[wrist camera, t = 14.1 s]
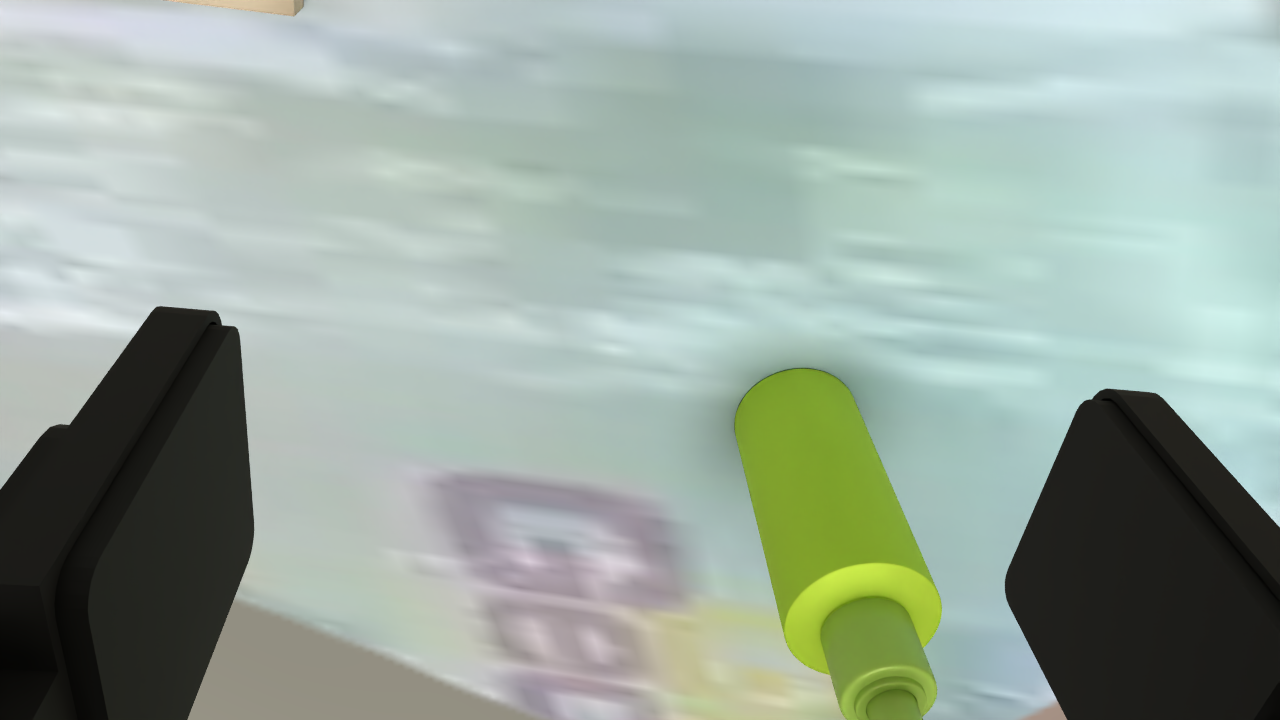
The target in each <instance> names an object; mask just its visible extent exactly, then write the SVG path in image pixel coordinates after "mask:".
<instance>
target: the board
mask: <svg viewBox="0 0 1280 720" xmlns="http://www.w3.org/2000/svg"><path fill="white" fill-rule="evenodd" d="M165 1H173V2H182V3H190V4H198V5H206V6H214V7H222V8H231V9H239V10H247V11H255V12H263V13H271V14H280V15H288V16H295V15H296V14H297V13H298V12H299V11H300V10H301V9H302V8H303V0H165Z"/></svg>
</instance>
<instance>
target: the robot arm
mask: <svg viewBox="0 0 1280 720" xmlns="http://www.w3.org/2000/svg"><path fill="white" fill-rule="evenodd" d="M253 538H254V516H253V503H252V490H251V477H250V464H249V451H248V438H247V424H246V411H245V398H244V385H243V372H242V359H241V345H240V337H239V332H238V329H237V328H236V327H234V326H223V325H222V323H221V319H220V317H219V314H218V313H217V312H216V311H209V310H198V309H186V308H175V307H163V306H160V307H156V308H155V309H154V310H153V311H152V312H151V313H150V315H149V316H148V318H147V319H146V320H145V322H144V323H143V325H142V326H141V327H140V329H139V330H138V331H137V333H136V334H135V336H134V337H133V338H132V340H131V341H130V342H129V344H128V345H127V347H126V348H125V349H124V351H123V352H122V353H121V355H120V356H119V358H118V359H117V360H116V362H115V363H114V365H113V366H112V367H111V369H110V370H109V371H108V373H107V374H106V376H105V377H104V378H103V380H102V381H101V382H100V384H99V385H98V387H97V388H96V389H95V391H94V392H93V394H92V395H91V396H90V398H89V399H88V400H87V402H86V403H85V405H84V406H83V407H82V409H81V410H80V411H79V413H78V414H77V416H76V417H75V418H74V420H73V421H72V423H71V424H70V425H62V424H59V425H56V426H52V427H50V428H49V429H48V430H47V431H46V432H45V433H44V434H43V435H42V436H41V437H40V438H39V439H38V440H37V442H36V443H35V444H34V446H33V447H32V448H31V450H30V451H29V452H28V454H27V455H26V456H25V458H24V459H23V460H22V462H21V463H20V464H19V466H18V467H17V468H16V470H15V471H14V472H13V474H12V475H11V476H10V478H9V479H8V480H7V482H6V483H5V484H4V486H3V487H2V488H1V490H0V720H187V719H188V716H189V713H190V711H191V708H192V706H193V703H194V701H195V698H196V696H197V693H198V690H199V688H200V685H201V682H202V680H203V677H204V675H205V672H206V669H207V667H208V664H209V662H210V659H211V657H212V654H213V652H214V649H215V646H216V644H217V641H218V638H219V636H220V634H221V631H222V628H223V626H224V623H225V621H226V618H227V615H228V613H229V610H230V608H231V605H232V603H233V600H234V597H235V595H236V592H237V590H238V587H239V584H240V582H241V579H242V577H243V574H244V572H245V569H246V566H247V564H248V561H249V558H250V555H251V550H252V545H253ZM1005 593H1006V599H1007V601H1008V604H1009V606H1010V608H1011V610H1012V612H1013V614H1014V616H1015V618H1016V620H1017V622H1018V624H1019V626H1020V628H1021V630H1022V632H1023V634H1024V636H1025V638H1026V640H1027V642H1028V644H1029V646H1030V648H1031V650H1032V652H1033V653H1034V655H1035V657H1036V659H1037V661H1038V663H1039V665H1040V667H1041V669H1042V671H1043V673H1044V675H1045V677H1046V679H1047V681H1048V683H1049V685H1050V687H1051V689H1052V691H1053V693H1054V695H1055V697H1056V699H1057V701H1058V702H1059V704H1060V706H1061V708H1062V710H1063V712H1064V714H1065V716H1066V718H1067V720H1280V527H1279V526H1278V525H1277V524H1276V523H1275V522H1274V521H1273V520H1272V519H1271V518H1270V516H1269V515H1268V514H1267V513H1266V512H1265V511H1264V510H1263V509H1262V508H1261V506H1260V505H1259V504H1258V503H1257V502H1256V501H1255V500H1254V499H1253V498H1252V496H1251V495H1250V494H1249V493H1248V492H1247V491H1246V490H1245V489H1244V488H1243V487H1242V485H1241V484H1240V483H1239V482H1238V481H1237V480H1236V479H1235V478H1234V477H1233V475H1232V474H1231V473H1230V472H1229V471H1228V470H1227V469H1226V468H1225V467H1224V466H1223V464H1222V463H1221V462H1220V461H1219V460H1218V459H1217V458H1216V457H1215V456H1214V454H1213V453H1212V452H1211V451H1210V450H1209V449H1208V448H1207V447H1206V446H1205V444H1204V443H1203V442H1202V441H1201V440H1200V439H1199V438H1198V437H1197V436H1196V435H1195V433H1194V432H1193V431H1192V430H1191V429H1190V428H1189V427H1188V426H1187V425H1186V423H1185V422H1184V421H1183V420H1182V419H1181V418H1180V417H1179V416H1178V415H1177V413H1176V412H1175V411H1174V410H1173V409H1172V408H1171V407H1170V406H1169V405H1168V404H1167V402H1166V401H1165V400H1164V399H1163V398H1162V397H1160V396H1159V395H1158V394H1156V393H1150V392H1140V391H1129V390H1117V389H1104V390H1101V391H1099V392H1098V393H1097V394H1096V395H1095V396H1094V397H1093V399H1092V400H1086V401H1084V402H1083V403H1082V404H1081V405H1080V406H1079V408H1078V409H1077V411H1076V413H1075V416H1074V418H1073V420H1072V423H1071V425H1070V427H1069V430H1068V432H1067V434H1066V437H1065V439H1064V441H1063V443H1062V446H1061V448H1060V450H1059V453H1058V455H1057V457H1056V460H1055V462H1054V464H1053V467H1052V469H1051V471H1050V473H1049V476H1048V478H1047V480H1046V483H1045V485H1044V487H1043V490H1042V492H1041V494H1040V497H1039V499H1038V501H1037V504H1036V506H1035V508H1034V510H1033V513H1032V515H1031V517H1030V520H1029V522H1028V524H1027V527H1026V529H1025V531H1024V534H1023V536H1022V538H1021V540H1020V543H1019V545H1018V547H1017V550H1016V552H1015V554H1014V557H1013V559H1012V561H1011V564H1010V566H1009V568H1008V571H1007V574H1006V579H1005Z"/></svg>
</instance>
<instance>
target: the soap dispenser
mask: <svg viewBox="0 0 1280 720" xmlns="http://www.w3.org/2000/svg"><path fill="white" fill-rule="evenodd" d="M734 425H735V435H736V439H737V443H738V447H739V451H740V455H741V459H742V463H743V468H744V472H745V476H746V480H747V484H748V488H749V492H750V496H751V501H752V505H753V509H754V513H755V517H756V521H757V525H758V529H759V533H760V538H761V542H762V546H763V550H764V554H765V558H766V562H767V566H768V571H769V575H770V579H771V583H772V587H773V591H774V595H775V599H776V603H777V608H778V612H779V616H780V620H781V624H782V628H783V632H784V636H785V640H786V643H787V645H788V647H789V649H790V651H791V652H792V654H793V655H794V656H795V657H796V658H797V659H798V660H799V661H800V662H801V663H803V664H804V665H806V666H808V667H809V668H811V669H813V670H816V671H818V672H821V673H824V674H829V675H830V676H831V679H832V683H833V686H834V690H835V693H836V697H837V700H838V704H839V707H840V710H841V712H842V714H843V716H844V717H845V718H846V719H847V720H923V718H922V717H923V716H924V715H925V714H926V713H927V712H928V711H929V710H930V708H931V707H932V705H933V704H934V702H935V699H936V696H937V685H936V681H935V678H934V676H933V673H932V670H931V668H930V665H929V663H928V660H927V658H926V655H925V653H924V650H923V648H924V647H925V646H926V645H927V643H928V642H929V641H930V640H931V638H932V637H933V635H934V634H935V632H936V630H937V628H938V626H939V623H940V619H941V613H942V605H941V599H940V596H939V593H938V591H937V589H936V586H935V584H934V582H933V579H932V577H931V575H930V573H929V570H928V568H927V566H926V563H925V561H924V559H923V557H922V554H921V552H920V550H919V547H918V545H917V543H916V540H915V538H914V536H913V534H912V531H911V529H910V527H909V524H908V522H907V520H906V517H905V515H904V513H903V511H902V508H901V506H900V504H899V501H898V499H897V497H896V494H895V492H894V490H893V488H892V485H891V483H890V481H889V478H888V476H887V474H886V471H885V469H884V467H883V465H882V462H881V460H880V458H879V455H878V453H877V451H876V449H875V446H874V444H873V442H872V439H871V437H870V435H869V432H868V430H867V428H866V426H865V423H864V421H863V419H862V416H861V414H860V412H859V409H858V407H857V405H856V403H855V400H854V398H853V396H852V394H851V392H850V391H849V389H848V388H847V387H846V386H845V385H844V383H842V382H841V381H840V380H839V379H837V378H836V377H834V376H832V375H830V374H828V373H826V372H823V371H819V370H814V369H791V370H786V371H782V372H779V373H776V374H773V375H771V376H769V377H767V378H765V379H764V380H762V381H760V382H759V383H758V384H756V385H755V386H754V387H753V388H752V389H751V390H750V391H749V392H748V393H747V394H746V395H745V397H744V398H743V400H742V401H741V403H740V405H739V407H738V409H737V412H736V416H735V424H734Z"/></svg>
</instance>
